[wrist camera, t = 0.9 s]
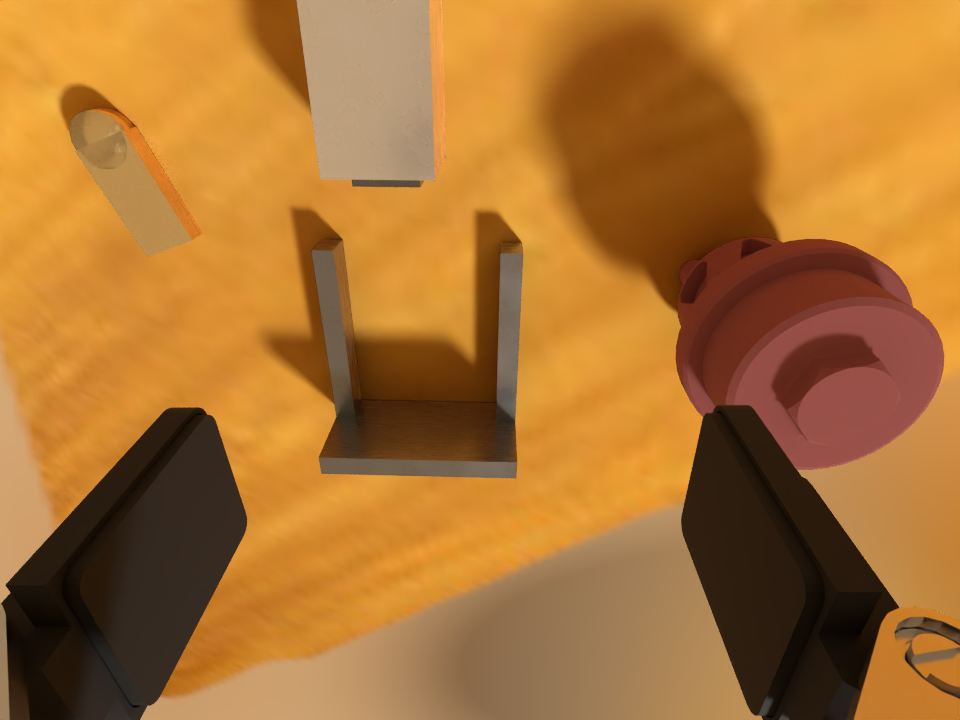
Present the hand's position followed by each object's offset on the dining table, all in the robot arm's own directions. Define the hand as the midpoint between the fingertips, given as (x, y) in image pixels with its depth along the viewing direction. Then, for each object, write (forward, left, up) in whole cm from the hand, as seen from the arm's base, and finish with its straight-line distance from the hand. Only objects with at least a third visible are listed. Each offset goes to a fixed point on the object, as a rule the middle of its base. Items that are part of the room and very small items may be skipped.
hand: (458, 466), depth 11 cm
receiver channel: (+8, -4, -22) cm, 24 cm away
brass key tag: (0, -19, -22) cm, 29 cm away
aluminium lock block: (-6, -5, -22) cm, 23 cm away
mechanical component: (+5, +14, -22) cm, 27 cm away
